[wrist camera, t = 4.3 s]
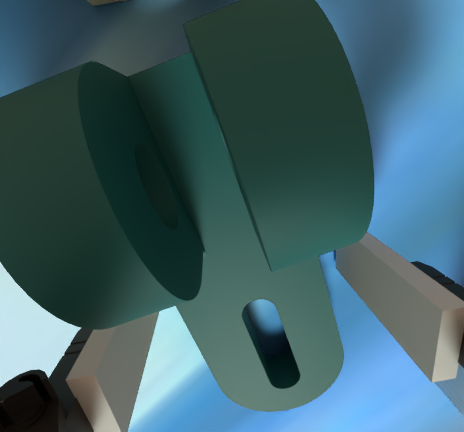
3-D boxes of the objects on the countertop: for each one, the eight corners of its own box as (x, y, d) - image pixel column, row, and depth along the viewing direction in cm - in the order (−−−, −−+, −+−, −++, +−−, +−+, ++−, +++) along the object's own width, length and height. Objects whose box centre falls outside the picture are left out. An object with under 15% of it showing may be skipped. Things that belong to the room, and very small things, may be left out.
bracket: (93, 104, 11) (-146, 75, 4) (247, 44, 11) (328, -124, 3) (236, 388, 17) (255, 588, 10) (336, 355, 17) (433, 538, 10)
